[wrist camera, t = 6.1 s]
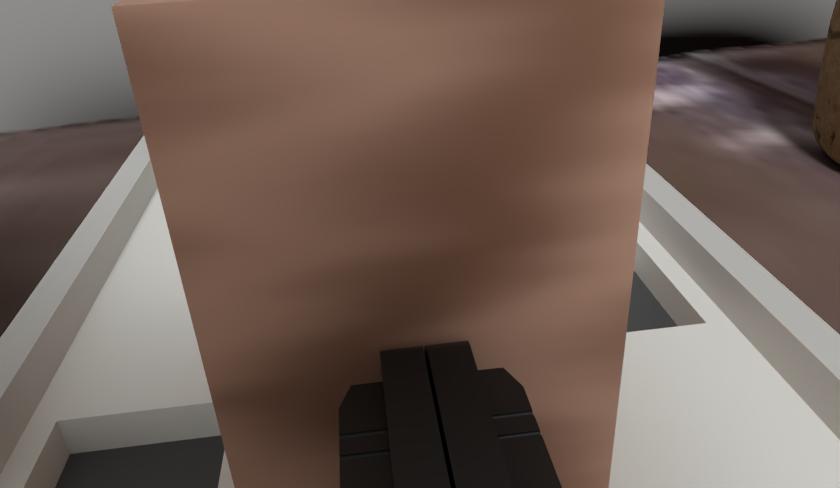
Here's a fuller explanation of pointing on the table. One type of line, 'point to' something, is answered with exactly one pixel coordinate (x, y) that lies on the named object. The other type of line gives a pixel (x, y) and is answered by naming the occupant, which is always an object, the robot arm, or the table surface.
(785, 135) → the table surface
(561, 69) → the terracotta block
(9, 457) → the box
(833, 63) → the block
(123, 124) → the table surface
